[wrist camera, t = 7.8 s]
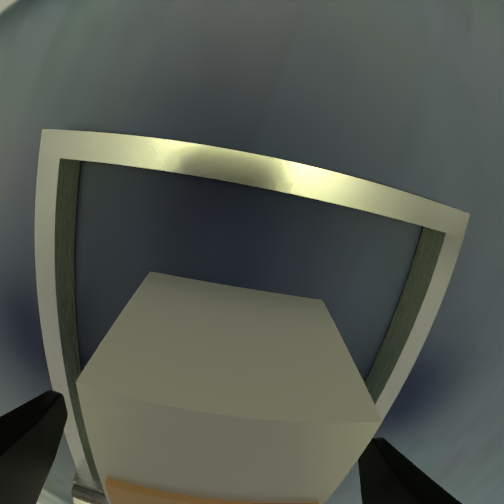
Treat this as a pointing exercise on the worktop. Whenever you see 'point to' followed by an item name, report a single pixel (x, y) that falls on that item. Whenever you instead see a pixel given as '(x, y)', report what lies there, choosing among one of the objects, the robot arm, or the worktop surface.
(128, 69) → the worktop surface
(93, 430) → the block
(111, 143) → the case
